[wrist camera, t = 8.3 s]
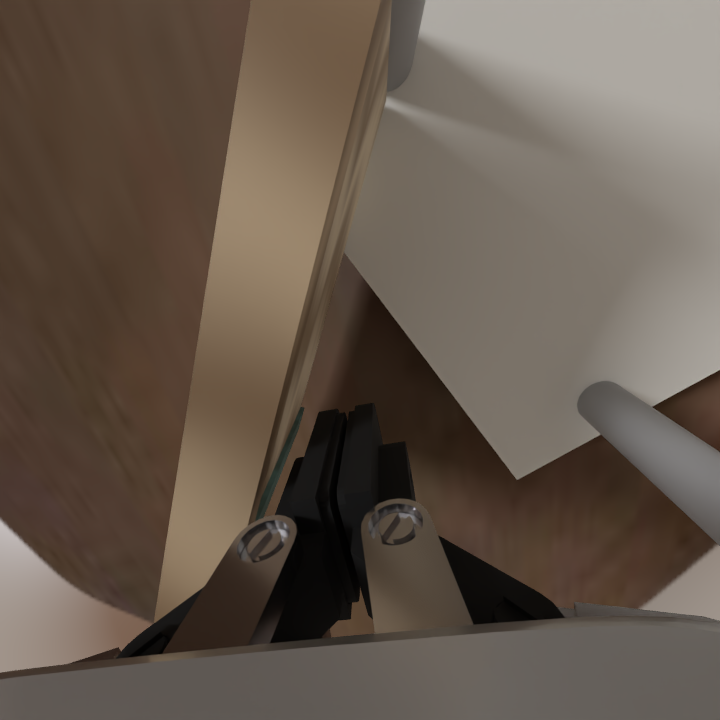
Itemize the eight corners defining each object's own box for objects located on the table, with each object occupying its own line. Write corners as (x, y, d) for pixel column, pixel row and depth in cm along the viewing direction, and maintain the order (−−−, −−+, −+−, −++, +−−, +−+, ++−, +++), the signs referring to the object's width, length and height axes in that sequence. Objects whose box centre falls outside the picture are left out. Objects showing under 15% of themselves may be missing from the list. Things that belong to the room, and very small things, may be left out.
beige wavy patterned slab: (350, 87, 15) (287, -227, 5) (393, 102, 15) (424, -173, 5) (268, 420, 20) (153, 622, 10) (299, 430, 20) (219, 638, 10)
